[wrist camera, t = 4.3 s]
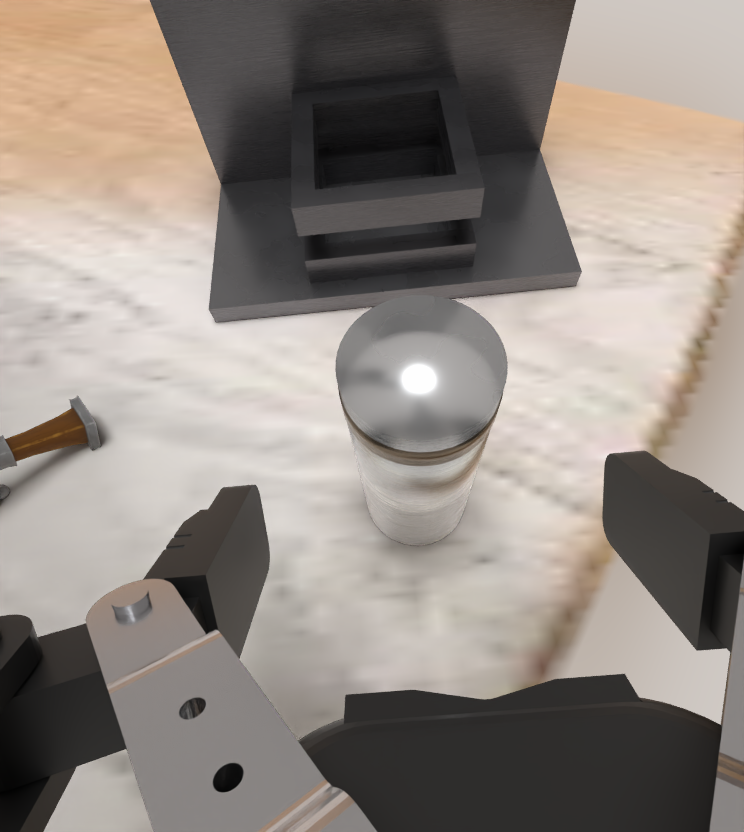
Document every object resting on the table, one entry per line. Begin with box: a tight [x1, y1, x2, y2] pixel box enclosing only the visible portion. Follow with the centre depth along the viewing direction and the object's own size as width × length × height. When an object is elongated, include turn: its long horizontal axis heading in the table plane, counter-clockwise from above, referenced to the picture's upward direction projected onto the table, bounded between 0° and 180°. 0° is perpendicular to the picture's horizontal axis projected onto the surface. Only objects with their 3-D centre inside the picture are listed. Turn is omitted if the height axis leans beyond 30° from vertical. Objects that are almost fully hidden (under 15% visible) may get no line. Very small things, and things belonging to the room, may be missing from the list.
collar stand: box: [150, 0, 582, 322], centre depth 23 cm, size 18×12×12 cm, turn 94°
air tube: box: [336, 295, 507, 546], centre depth 16 cm, size 4×4×10 cm
